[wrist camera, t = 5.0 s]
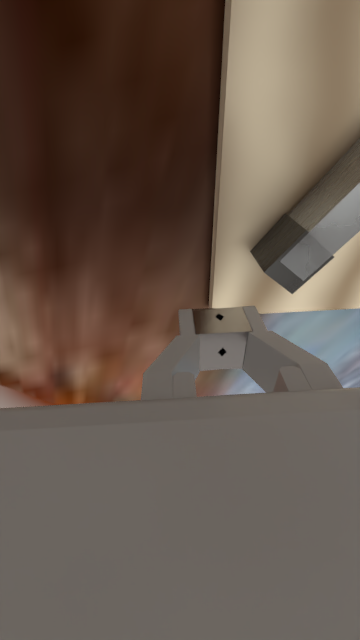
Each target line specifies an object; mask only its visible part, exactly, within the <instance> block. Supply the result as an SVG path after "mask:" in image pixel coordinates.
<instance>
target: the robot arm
mask: <svg viewBox="0 0 360 640" xmlns="http://www.w3.org/2000/svg"><path fill="white" fill-rule="evenodd" d="M179 332H180V336H176V337H175V338H174V339H173V341H172V342H171V343H170V344H169V345H168V346H167V347H166V348H165V350H164V351H163V352H162V353H161V354H160V355H159V356H158V358H157V359H156V360H155V361H154V362H153V363H152V364H151V365H150V367H149V368H148V369H147V370H146V371H145V372H144V373H143V384H142V394H141V400H136V401H119V402H102V403H85V404H68V405H50V406H34V407H17V408H0V640H360V388H343V387H342V385H341V384H340V382H339V381H338V379H337V378H336V376H335V375H334V373H333V372H332V370H331V369H330V367H329V366H328V364H327V363H325V362H324V361H322V360H320V359H319V358H317V357H315V356H313V355H312V354H310V353H308V352H307V351H305V350H303V349H302V348H300V347H298V346H297V345H295V344H293V343H291V342H290V341H288V340H286V339H285V338H283V337H281V336H280V335H278V334H276V333H274V332H273V331H267V329H266V327H265V325H264V322H263V320H262V318H261V316H260V314H259V312H258V310H257V308H256V307H255V306H254V305H253V306H241V307H231V308H205V309H192V310H191V309H180V310H179ZM242 368H243V370H244V371H245V372H246V373H247V374H248V375H249V376H250V377H251V378H252V379H253V380H254V381H255V382H256V383H257V384H258V385H259V386H260V387H261V388H262V389H263V390H264V391H265V392H266V393H255V394H238V395H221V396H204V397H197V396H196V388H195V379H196V377H197V375H198V374H199V371H204V370H216V369H242Z"/></svg>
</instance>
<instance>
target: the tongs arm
mask: <svg viewBox="0 0 360 640" xmlns="http://www.w3.org/2000/svg"><path fill="white" fill-rule="evenodd" d="M359 231H360V138H359V139H358V140H357V142H356V143H355V144H354V145H353V146H352V147H351V148H350V149H349V150H348V151H347V152H346V153H345V154H344V155H343V156H342V158H341V159H340V160H339V161H338V162H337V163H336V164H335V165H334V166H333V167H332V168H331V169H330V170H329V171H328V172H327V174H326V175H325V176H324V177H323V178H322V179H321V180H320V181H319V182H318V183H317V184H316V185H315V186H314V187H313V188H312V190H311V191H310V192H309V193H308V194H307V195H306V196H305V197H304V198H303V199H302V200H301V201H300V202H299V203H298V204H297V206H296V207H295V208H294V209H293V210H292V211H291V212H290V213H289V214H288V215H287V214H286V213H285V214H284V215H283V216H282V217H281V218H280V220H279V221H278V222H277V223H276V224H275V225H274V226H273V227H272V228H271V229H270V230H269V231H268V232H267V234H266V235H265V236H264V237H263V238H262V239H261V240H260V241H259V242H258V243H257V244H256V245H255V246H254V248H253V249H252V250H251V251H250V252H251V254H252V255H253V257H254V258H255V260H256V261H257V263H258V264H259V266H260V267H261V269H262V270H263V272H264V273H265V274H266V275H268V276H269V277H270V278H272V279H273V280H274V281H276V282H277V283H278V284H279V285H281V286H282V287H283V288H285V289H286V290H287V291H289V292H290V293H291V294H293V293H294V292H296V291H297V290H298V289H299V288H300V287H301V286H302V285H304V284H305V283H306V282H307V281H308V280H309V279H310V278H311V277H313V276H314V275H315V274H316V273H317V272H318V271H319V270H321V269H322V268H323V267H324V266H325V265H326V264H327V263H329V262H330V261H331V260H332V259H333V258H334V256H333V254H335V253H336V252H337V251H338V250H339V249H340V248H341V247H342V246H344V245H345V244H346V243H347V242H348V241H349V240H350V239H351V238H353V237H354V236H355V235H356V234H357V233H358V232H359Z"/></svg>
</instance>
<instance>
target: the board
mask: <svg viewBox="0 0 360 640" xmlns="http://www.w3.org/2000/svg"><path fill="white" fill-rule="evenodd" d="M359 138H360V0H225V15H224V34H223V52H222V70H221V89H220V107H219V126H218V144H217V163H216V181H215V199H214V218H213V236H212V255H211V273H210V292H209V308H231V307H241V306H253V305H254V306H255V307H256V308H257V310H258V312H259V314H263V313H282V312H300V311H319V310H337V309H356V308H360V231H359V232H358V233H357V234H356V235H355V236H354V237H353V238H351V239H350V240H349V241H348V242H347V243H346V244H345V245H344V246H342V247H341V248H340V249H339V250H338V251H337V252H336V253H335V254H333V256H334V258H333V259H332V260H331V261H330V262H329V263H327V264H326V265H325V266H324V267H323V268H322V269H321V270H319V271H318V272H317V273H316V274H315V275H314V276H313V277H311V278H310V279H309V280H308V281H307V282H306V283H305V284H304V285H302V286H301V287H300V288H299V289H298V290H297V291H296V292H294V293H293V294H291V293H290V292H289V291H287V290H286V289H285V288H283V287H282V286H281V285H279V284H278V283H277V282H276V281H274V280H273V279H272V278H270V277H269V276H268V275H266V274H265V273H264V272H263V270H262V269H261V267H260V266H259V264H258V263H257V261H256V260H255V258H254V257H253V255H252V254H251V252H250V251H251V250H252V249H253V248H254V246H255V245H256V244H257V243H258V242H259V241H260V240H261V239H262V238H263V237H264V236H265V235H266V234H267V232H268V231H269V230H270V229H271V228H272V227H273V226H274V225H275V224H276V223H277V222H278V221H279V220H280V218H281V217H282V216H283V215H284V214H285V213H286V214H287V215H288V214H289V213H290V212H291V211H292V210H293V209H294V208H295V207H296V206H297V204H298V203H299V202H300V201H301V200H302V199H303V198H304V197H305V196H306V195H307V194H308V193H309V192H310V191H311V190H312V188H313V187H314V186H315V185H316V184H317V183H318V182H319V181H320V180H321V179H322V178H323V177H324V176H325V175H326V174H327V172H328V171H329V170H330V169H331V168H332V167H333V166H334V165H335V164H336V163H337V162H338V161H339V160H340V159H341V158H342V156H343V155H344V154H345V153H346V152H347V151H348V150H349V149H350V148H351V147H352V146H353V145H354V144H355V143H356V142H357V140H358V139H359Z"/></svg>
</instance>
